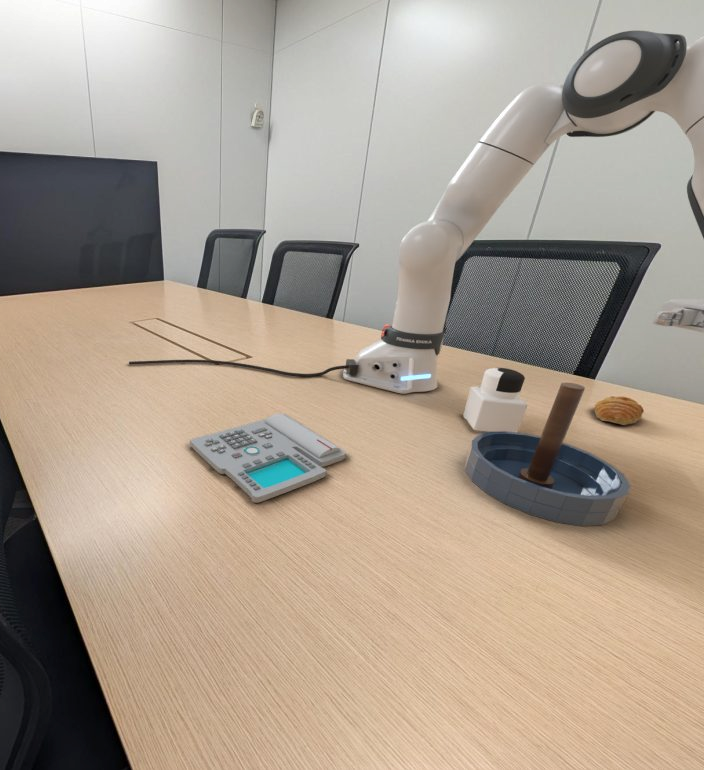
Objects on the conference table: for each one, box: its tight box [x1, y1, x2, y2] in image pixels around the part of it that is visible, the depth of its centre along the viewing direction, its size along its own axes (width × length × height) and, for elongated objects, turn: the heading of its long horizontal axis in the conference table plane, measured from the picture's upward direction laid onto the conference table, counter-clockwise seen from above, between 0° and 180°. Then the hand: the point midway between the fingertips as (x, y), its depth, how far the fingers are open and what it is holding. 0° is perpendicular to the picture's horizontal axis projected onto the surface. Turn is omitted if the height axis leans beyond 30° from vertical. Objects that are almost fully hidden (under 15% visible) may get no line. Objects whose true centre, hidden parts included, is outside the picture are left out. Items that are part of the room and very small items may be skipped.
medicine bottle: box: [462, 367, 528, 433], centre depth 73 cm, size 7×7×12 cm
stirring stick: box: [518, 382, 586, 489], centre depth 55 cm, size 4×4×17 cm
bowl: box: [464, 431, 632, 527], centre depth 57 cm, size 18×18×5 cm
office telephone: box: [189, 413, 346, 504], centre depth 68 cm, size 23×3×20 cm
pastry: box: [594, 395, 645, 426], centre depth 77 cm, size 9×7×4 cm
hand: (699, 326), depth 47 cm, fingers open, 8 cm apart
